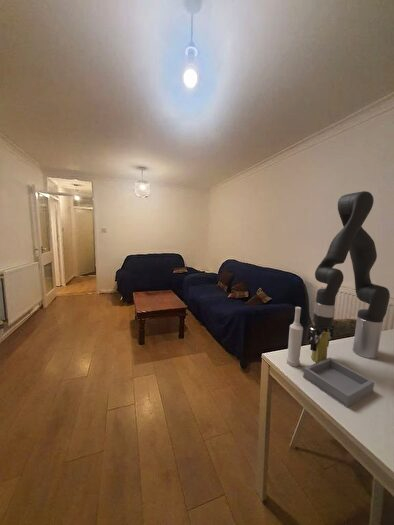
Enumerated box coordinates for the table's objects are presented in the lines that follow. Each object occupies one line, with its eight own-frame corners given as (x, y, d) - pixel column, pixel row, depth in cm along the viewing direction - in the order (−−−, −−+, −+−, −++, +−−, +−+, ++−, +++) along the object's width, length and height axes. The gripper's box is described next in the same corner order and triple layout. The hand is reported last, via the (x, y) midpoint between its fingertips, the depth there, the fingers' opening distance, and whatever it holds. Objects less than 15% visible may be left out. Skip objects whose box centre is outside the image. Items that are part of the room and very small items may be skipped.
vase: (329, 364, 93) (332, 333, 90) (313, 362, 94) (316, 331, 92) (323, 356, 99) (327, 327, 96) (309, 354, 100) (312, 325, 98)
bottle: (293, 368, 90) (298, 310, 86) (283, 361, 94) (288, 306, 91) (302, 365, 92) (308, 308, 88) (292, 358, 96) (297, 304, 93)
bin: (328, 366, 91) (329, 357, 91) (372, 391, 77) (374, 381, 77) (303, 377, 84) (304, 367, 83) (346, 407, 70) (348, 396, 69)
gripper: (325, 308, 100) (321, 341, 102) (305, 312, 93) (300, 347, 95) (342, 314, 93) (337, 349, 95) (321, 319, 86) (316, 356, 89)
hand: (319, 348), depth 95 cm, fingers open, 8 cm apart
